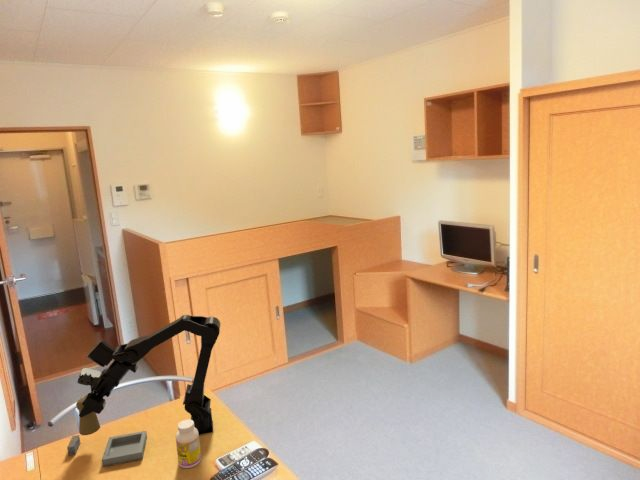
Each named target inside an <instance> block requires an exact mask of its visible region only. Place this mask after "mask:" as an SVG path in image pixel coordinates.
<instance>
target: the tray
mask: <svg viewBox="0 0 640 480" xmlns="http://www.w3.org/2000/svg"><path fill="white" fill-rule="evenodd" d="M147 439H148V435H147V430H142V431H137V432H132V433H131V432H130V433H126V434H121V435H115V436H109V437H108V440H107V443H106V446H105V448H104V451H103V455H102V458H101V465H102V468H106V467H110V466H116V465H121V464H125V463H132V462H137V461H141V460H143V459H144V455H145V450H146V446H147V445H146V444H147Z"/></svg>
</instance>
